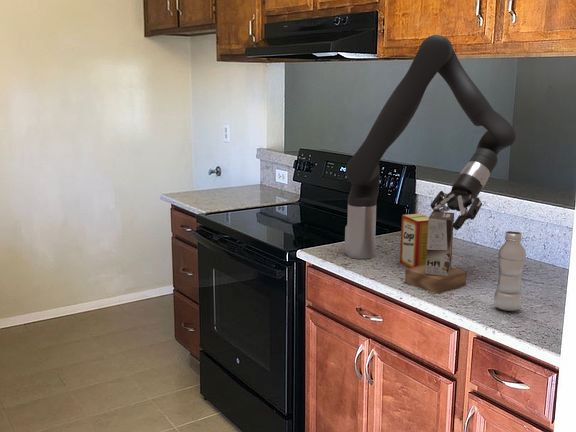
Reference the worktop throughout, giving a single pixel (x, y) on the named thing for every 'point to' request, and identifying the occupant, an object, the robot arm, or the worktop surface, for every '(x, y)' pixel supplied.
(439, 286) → the brown flat square block
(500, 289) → the plastic bottle
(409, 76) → the robot arm
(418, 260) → the baking soda box
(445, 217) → the coffee box
